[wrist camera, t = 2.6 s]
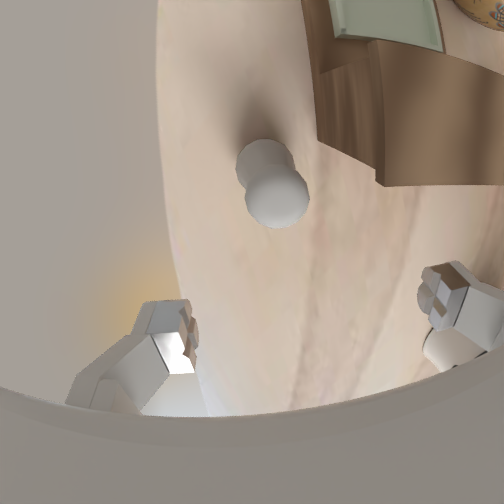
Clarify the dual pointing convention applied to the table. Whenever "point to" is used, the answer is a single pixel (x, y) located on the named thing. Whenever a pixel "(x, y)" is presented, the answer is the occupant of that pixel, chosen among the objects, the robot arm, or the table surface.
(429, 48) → the tray
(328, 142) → the wooden stand
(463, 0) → the ceramic vessel
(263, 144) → the salt shaker
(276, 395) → the table surface
